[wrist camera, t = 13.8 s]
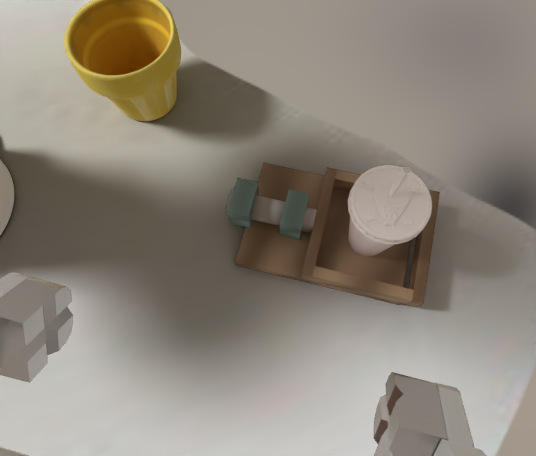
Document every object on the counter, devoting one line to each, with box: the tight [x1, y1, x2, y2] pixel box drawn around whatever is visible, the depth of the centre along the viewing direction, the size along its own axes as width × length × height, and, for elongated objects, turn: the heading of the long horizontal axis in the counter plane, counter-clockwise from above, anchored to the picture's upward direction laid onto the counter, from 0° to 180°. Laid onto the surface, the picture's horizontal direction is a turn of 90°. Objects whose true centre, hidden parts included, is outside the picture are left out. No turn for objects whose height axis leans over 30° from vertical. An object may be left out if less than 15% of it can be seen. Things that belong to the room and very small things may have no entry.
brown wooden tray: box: [226, 163, 440, 307], centre depth 43 cm, size 20×11×4 cm, turn 76°
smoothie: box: [348, 165, 432, 257], centre depth 37 cm, size 6×6×14 cm
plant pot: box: [64, 0, 181, 121], centre depth 46 cm, size 10×10×10 cm
